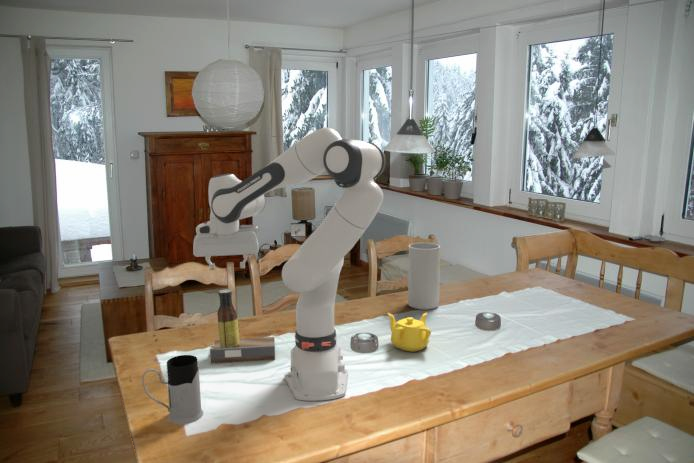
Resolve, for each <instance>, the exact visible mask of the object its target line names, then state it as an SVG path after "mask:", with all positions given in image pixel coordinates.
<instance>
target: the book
mask: <svg viewBox="0 0 694 463" xmlns="http://www.w3.org/2000/svg"><path fill="white" fill-rule="evenodd" d="M264 345H275V336H267V337H266V336H265V337H262V336H261V337H248V338H247V337H246V338H239V347H248V346H264ZM275 346H276V345H275ZM215 348H221V346H220V339H215V340H214V343H213V348H212V349H215ZM273 360H276V354H275V355H270V356H255V357H239V358H223V359H211V358H210V364H211V365H213V364H227V363H230V364H231V363H242V362H243V363H244V362H259V361H273Z"/></svg>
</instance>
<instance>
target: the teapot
mask: <svg viewBox="0 0 694 463" xmlns="http://www.w3.org/2000/svg"><path fill="white" fill-rule="evenodd" d="M387 315H388V316H389V319H390V332H391V335H390V342H391V343H392V346H393V347H395V348H397V349H399V350H402V351H405V352H418V351H421V350H423V349H425V348H427V346H428V344H429V343H430V337H431V335H432V330H431V329H430V328H429V327H426V318H427V315H428V312H424V313H422V315H421V317H420V320H418V319H414V317H412V316H411V317H410V316H409V317H406V318H402V319H399V320H398V321H396V319H395V317H394V315H393V314H392V313H390V312H387Z"/></svg>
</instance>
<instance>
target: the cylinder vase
mask: <svg viewBox="0 0 694 463" xmlns="http://www.w3.org/2000/svg"><path fill="white" fill-rule="evenodd" d="M440 263H441V245H439V244H437V243H432V242H415V243H410V244H408V272H407V273H408V278H407V280H408V282H407V283H408V284H407V285H408V287H407V288H408V289H407V290H408V292H407V293H408V294H407V304H408V307H410V308H413V309H416V310H423V311H424V310H427V311H428V310H433V309H434V310H435V309H437V308H438V307H439V304H440V277H441V276H440V275H441V274H440V273H441V271H440V268H441V266H440V265H441V264H440Z"/></svg>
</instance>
